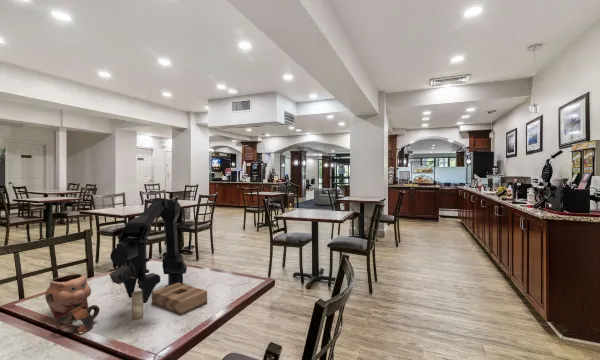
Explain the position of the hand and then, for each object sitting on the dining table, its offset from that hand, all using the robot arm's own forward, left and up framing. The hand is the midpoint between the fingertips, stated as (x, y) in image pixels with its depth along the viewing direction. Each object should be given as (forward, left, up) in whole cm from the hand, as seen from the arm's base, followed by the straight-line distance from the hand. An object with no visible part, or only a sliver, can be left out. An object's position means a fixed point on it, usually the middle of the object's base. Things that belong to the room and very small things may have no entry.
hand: (137, 300), depth 105 cm
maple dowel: (0, 0, -6) cm, 6 cm away
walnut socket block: (+3, +15, -6) cm, 16 cm away
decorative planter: (-24, -12, -6) cm, 28 cm away
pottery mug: (-9, -14, -6) cm, 18 cm away
